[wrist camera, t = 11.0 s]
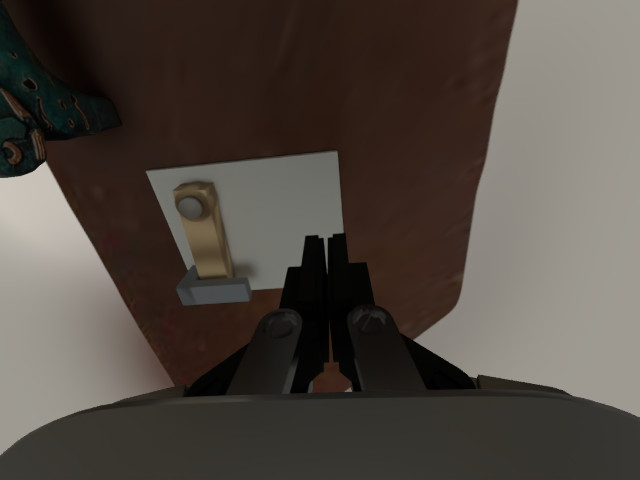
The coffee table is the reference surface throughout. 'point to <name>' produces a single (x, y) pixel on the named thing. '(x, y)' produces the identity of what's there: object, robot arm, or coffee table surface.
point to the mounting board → (256, 218)
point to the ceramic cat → (39, 106)
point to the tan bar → (204, 229)
